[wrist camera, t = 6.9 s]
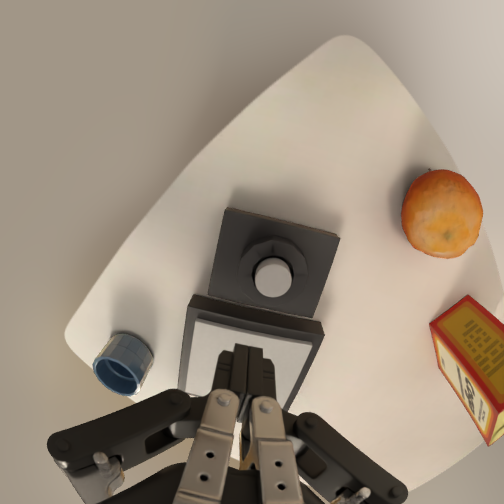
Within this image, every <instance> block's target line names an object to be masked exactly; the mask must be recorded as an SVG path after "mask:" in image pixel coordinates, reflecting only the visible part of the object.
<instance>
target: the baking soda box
mask: <svg viewBox="0 0 504 504" xmlns="http://www.w3.org/2000/svg"><path fill="white" fill-rule="evenodd" d="M429 326H430V330H431V334H432V338H433V343H434V347H435V352H436V356H437V362H438V367H439V369H440V371H441V372H442V374H443V375H444V376H445V378H446V379H447V381H448V382H449V384H450V385H451V387H452V388H453V390H454V391H455V393H456V394H457V396H458V397H459V399H460V400H461V402H462V404H463V405H464V407H465V408H466V410H467V412H468V413H469V415H470V416H471V418H472V420H473V421H474V423H475V425H476V426H477V428H478V430H479V431H480V433H481V435H482V437H483V438H484V440H485V442H486V444H487V446H490V445H492V444H493V443H494V442H495V441H497V440H498V439H499V438H500V437H502V436H503V435H504V324H503V323H501V322H500V321H499V320H498V319H497V318H496V317H495V316H493V315H492V314H491V313H490V312H489V311H487V310H486V309H485V308H484V307H483V306H482V305H480V304H479V303H478V302H477V301H475V300H474V299H473V298H472V297H470V296H469V295H467V296H465V297H464V298H463V299H462V300H460V301H459V302H458V303H457V304H455V305H454V306H453V307H451V308H450V309H449V310H447V311H446V312H445V313H443V314H442V315H441V316H439V317H438V318H436V319H435V320H434V321H432V322H431V323H429Z"/></svg>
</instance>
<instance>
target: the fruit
mask: <svg viewBox="0 0 504 504" xmlns="http://www.w3.org/2000/svg"><path fill="white" fill-rule="evenodd" d="M428 170H429V172H427V173H425V174H423V175H421V176H419V177H418V178H417V179H416V180H414V181H413V183H412V184H411V186H410V188H409V190H408V192H407V194H406V197H405V199H404V202H403V206H402V212H401V219H402V227H403V230H404V232H405V234H406V236H407V239H408V241H409V242H410V243H411V245H412V246H413V247H414V248H415V249H417V250H419V251H422V252H424V253H425V254H427V255H430V256H433V257H438V258H446V259H449V258H455V257H459V256H461V255H462V254H463V253H465V251H466V250H467V249H468V248H469V247H470V246H472V245H474V243H475V242H476V240H477V238H478V236H479V230H480V226H481V222H482V217H483V209H482V205H481V202H480V198H479V196H478V194H477V192H476V191H475V189H474V188H473V187H472V186H471V184H470V183H469V182H468V181H467V180H466V179H465V178H464V177H463V176H462V175H460V174H458V173H455V172H452V171H450V170H444V169H441V170H434V171H431V169H428Z"/></svg>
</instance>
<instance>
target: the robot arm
mask: <svg viewBox="0 0 504 504" xmlns="http://www.w3.org/2000/svg"><path fill="white" fill-rule="evenodd" d="M236 419H237V422H240V423H242V429H241V431H240V434H239V447H240V468H239V470H238V469H235V468H232V467H229V466H228V464H229V459H230V455H231V450H232V444H233V439H234V435H233V433H234V428H235V422H236ZM185 438H194V441H193V444H192V447H191V450H190V453H189V457H188V460H187V462H184V463H177V464H174V465H170V466H168V467H165V468H164V469H162V470H160V471H159V472H157V473H155V474H154V475H152V476H150V477H148V478H146V479H145V480H143V481H141V482H139V483H137V484H136V485H134V486H132V487H130V488H128V489H126V490H124V491H122V492H120V493H118V494H116V495H114V496H113V493H114V491H115V490H116V489H117V488H118V487H120V486H121V485H122V484H123V482H124V479H125V477H124V473H123V471H125V470H128V469H130V468H132V467H134V466H136V465H138V464H140V463H142V462H144V461H146V460H148V459H150V458H152V457H154V456H156V455H158V454H160V453H162V452H164V451H165V450H167V449H169V448H171V447H173V446H175V445H176V444H178V443H180V442H182V441H183V440H184V439H185ZM47 448H48V451H49V453H50V454H51V456H52V457H53V458H54V461H55V462H56V464H57V465H58V467H59V468H60V469H61V471H62V472H63V473H64V474H65V475H66V476H67V477H68V478H69V480H70V482H71V483H72V485H73V487H74V488H75V490H76V491H77V493H78V494H79V495H80V497H81V499H82V500H83V502H84V503H85V504H325V503H324V502H323V501H321V499H320V498H319V497H318V496H316V495H315V494H314V493H313V492H312V491H311V490H310V489H309V488H308V487H307V486H306V485H305V484H304V483H302V482H301V481H300V480H299V475H300V476H301V477H302V478H303V479H304V480H305V481H306V482H307V483H308V484H309V485H310V486H311V487H313V488H314V489H315V490H316V491H317V492H318V493H319V494H320V495H322V496H323V497H324V498H325V499H326V500H327V501H328V502H330V504H402V503H403V502H404V501H405V500H406V499H407V496H408V490H407V487H406V486H405V485H404V484H403V483H402V482H401V481H399V480H398V479H396V478H395V477H394V476H392V475H391V474H390V473H388V472H387V471H386V470H384V469H383V468H382V467H380V466H379V465H378V464H376V463H375V462H374V461H373V460H371V459H370V458H369V457H368V456H366V455H365V454H364V453H363V452H361V451H360V450H359V449H358V448H356V447H355V446H354V445H353V444H351V443H350V442H349V441H348V440H347V439H345V438H344V437H343V436H342V435H341V434H339V433H338V432H337V431H336V430H335V429H334V428H332V427H331V426H330V425H329V424H328V423H327V422H326V421H324V420H323V419H322V418H321V417H320V416H318V415H317V414H315V413H311V412H305V413H302V414H300V415H299V416H296V415H293V414H291V413H288V412H286V411H284V410H283V409H282V408H281V406H280V404H279V403H278V402H277V397H276V380H275V366H274V364H273V362H272V361H271V359H268V358H263V348H258V347H253V346H248V345H243V344H238V343H235V345H234V349H233V352H231V351H227V350H223V351H222V352H221V353H220V354H219V355H218V360H217V364H216V369H215V373H214V378H213V383H212V388H211V391H210V392H209V393H208V394H207V395H205V396H202V397H190V396H189V395H188V394H187V393H186V392H184V391H182V390H179V389H168V390H166V391H163V392H161V393H159V394H157V395H154V396H152V397H150V398H148V399H145V400H143V401H141V402H138V403H136V404H133V405H131V406H129V407H126V408H124V409H121V410H119V411H116V412H113V413H111V414H108V415H106V416H103V417H100V418H98V419H95V420H92V421H89V422H86V423H84V424H81V425H78V426H75V427H72V428H69V429H66V430H62V431H59V432H56V433H54V434H52V435H51V436H50V437H49V439H48V441H47ZM298 474H299V475H298Z"/></svg>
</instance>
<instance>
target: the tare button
mask: <svg viewBox="0 0 504 504" xmlns="http://www.w3.org/2000/svg"><path fill="white" fill-rule="evenodd" d="M291 281H292V279H291V274H290V270H289V267H288V265H287V264H286V263H285V262H284V261H283V260H281V259H278V258H268V259H265V260H263V261H262V262H261V263H260V264H259V265H258V267H257V269H256V274H255V284H256V287H257V289H258V290H259V292H260V293H262V294H263V295H265V296H268V297H278V296H281V295H283V294H284V293H286V292H287V291H288V289H289V288H290V286H291Z"/></svg>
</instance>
